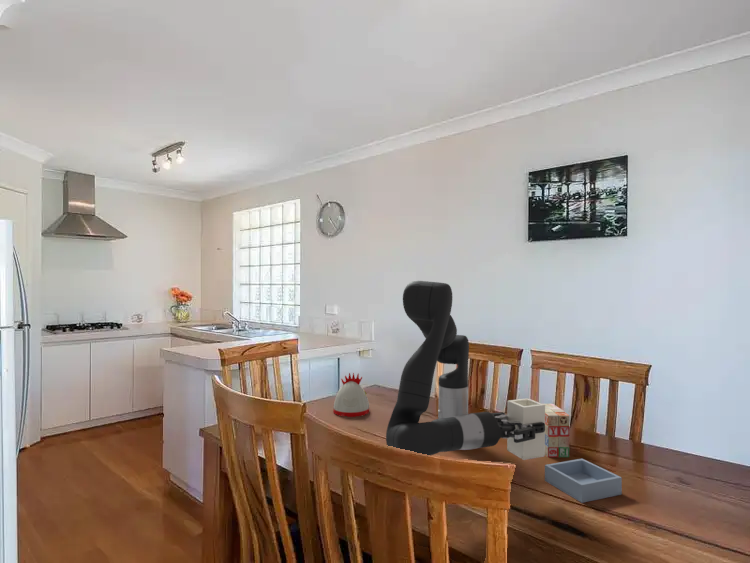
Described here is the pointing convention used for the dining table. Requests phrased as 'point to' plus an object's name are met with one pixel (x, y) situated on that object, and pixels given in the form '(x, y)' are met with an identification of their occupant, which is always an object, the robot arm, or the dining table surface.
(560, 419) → the stack of blocks
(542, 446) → the cream caddy
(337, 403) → the kitchen timer
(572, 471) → the slate crate
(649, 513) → the dining table surface
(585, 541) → the dining table surface
